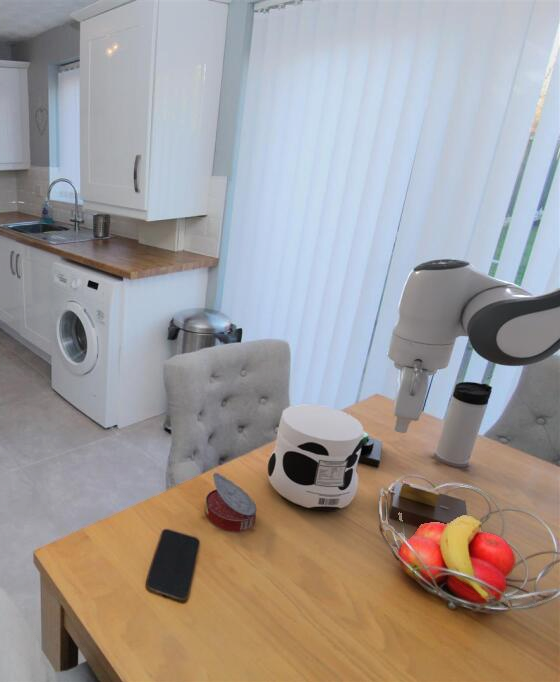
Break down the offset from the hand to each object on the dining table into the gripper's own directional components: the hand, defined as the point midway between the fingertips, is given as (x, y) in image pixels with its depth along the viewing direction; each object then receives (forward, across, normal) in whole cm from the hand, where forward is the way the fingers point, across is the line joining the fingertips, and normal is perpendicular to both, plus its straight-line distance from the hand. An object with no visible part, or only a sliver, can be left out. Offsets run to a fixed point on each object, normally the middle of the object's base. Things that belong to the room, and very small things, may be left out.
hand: (401, 419), depth 90 cm
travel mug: (+24, +33, -13) cm, 42 cm away
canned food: (+23, -15, +25) cm, 37 cm away
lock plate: (+23, +7, -8) cm, 26 cm away
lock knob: (+20, +7, -6) cm, 22 cm away
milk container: (+24, +2, +13) cm, 27 cm away
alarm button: (+20, +25, +6) cm, 32 cm away
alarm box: (+23, +25, +6) cm, 34 cm away
